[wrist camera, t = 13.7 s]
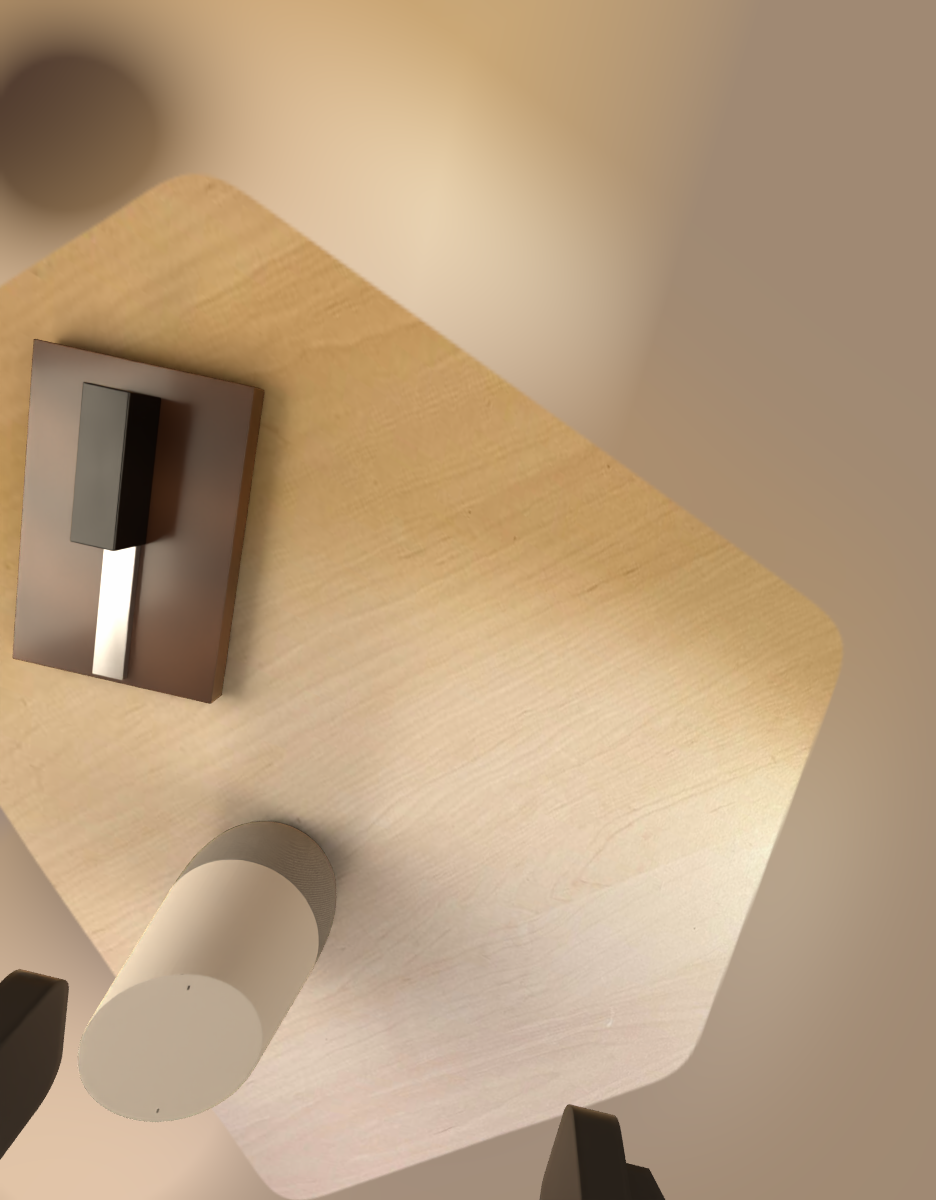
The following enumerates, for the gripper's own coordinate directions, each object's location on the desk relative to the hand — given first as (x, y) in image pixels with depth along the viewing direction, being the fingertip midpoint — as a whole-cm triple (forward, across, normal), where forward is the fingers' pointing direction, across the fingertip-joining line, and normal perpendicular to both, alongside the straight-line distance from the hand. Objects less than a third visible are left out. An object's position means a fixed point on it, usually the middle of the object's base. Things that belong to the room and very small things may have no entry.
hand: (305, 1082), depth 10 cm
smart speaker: (+28, +8, +18) cm, 34 cm away
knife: (+26, +19, -2) cm, 33 cm away
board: (+28, +19, -2) cm, 34 cm away
